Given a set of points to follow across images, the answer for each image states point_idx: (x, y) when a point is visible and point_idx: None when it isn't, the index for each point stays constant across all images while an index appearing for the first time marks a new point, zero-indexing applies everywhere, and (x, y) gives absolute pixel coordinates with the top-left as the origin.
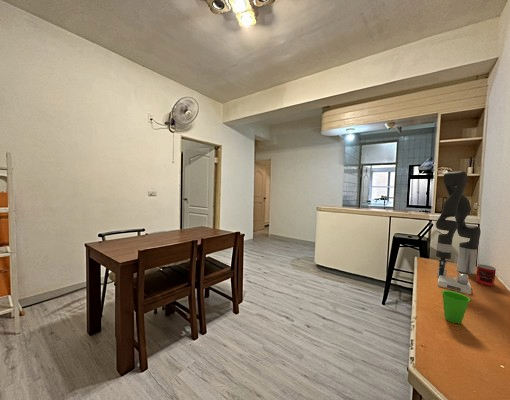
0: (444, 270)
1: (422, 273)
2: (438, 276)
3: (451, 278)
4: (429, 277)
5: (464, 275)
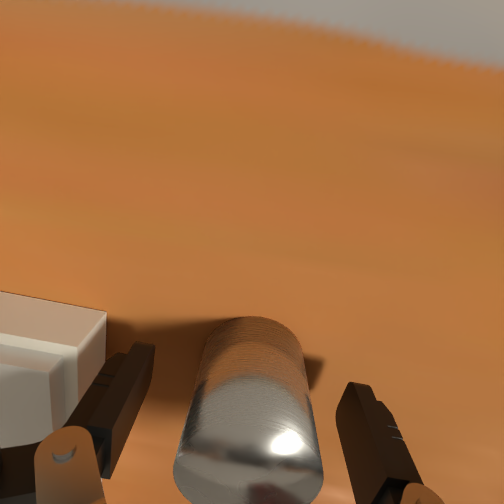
0: (201, 495)
1: (236, 113)
2: (218, 330)
3: None
4: (73, 201)
5: None
